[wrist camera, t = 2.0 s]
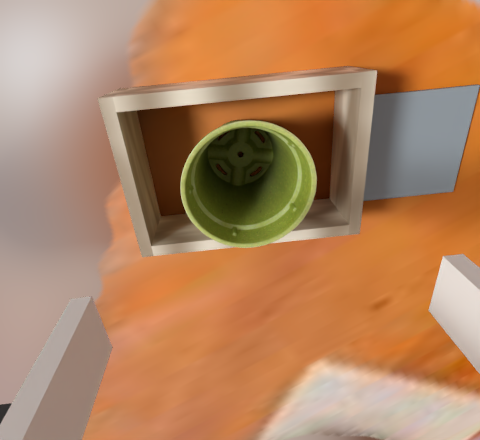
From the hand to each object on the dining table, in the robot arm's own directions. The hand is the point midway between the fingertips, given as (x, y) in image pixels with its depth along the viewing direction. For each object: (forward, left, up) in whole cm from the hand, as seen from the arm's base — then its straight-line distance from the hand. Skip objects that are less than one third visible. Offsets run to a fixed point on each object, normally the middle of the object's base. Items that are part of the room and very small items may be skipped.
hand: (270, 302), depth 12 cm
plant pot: (0, 0, -20) cm, 20 cm away
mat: (-16, +1, -20) cm, 26 cm away
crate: (0, 0, -20) cm, 20 cm away
